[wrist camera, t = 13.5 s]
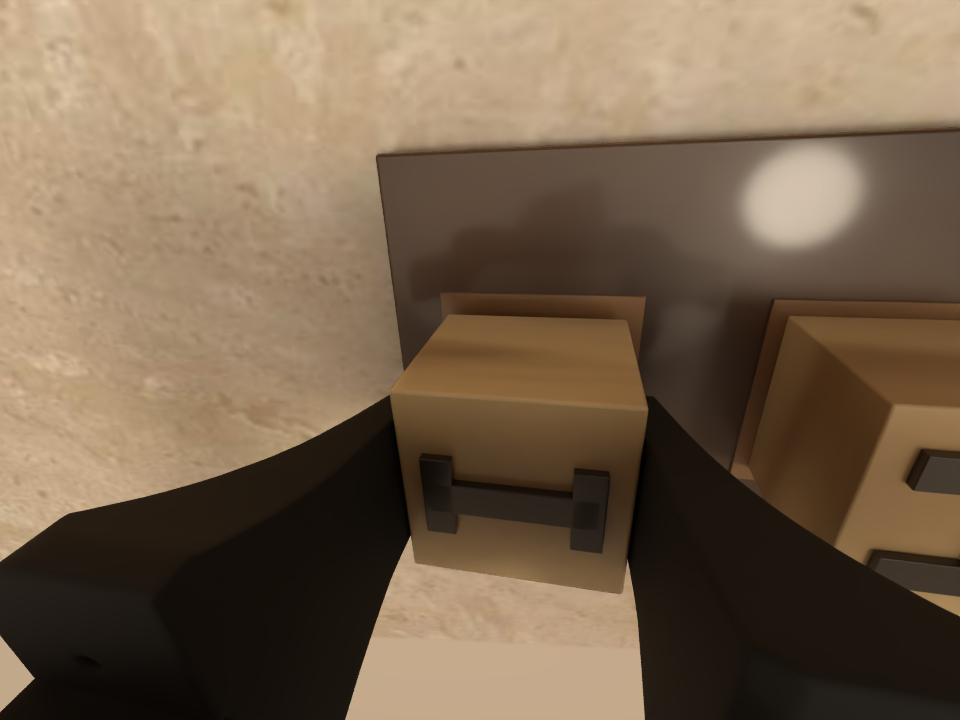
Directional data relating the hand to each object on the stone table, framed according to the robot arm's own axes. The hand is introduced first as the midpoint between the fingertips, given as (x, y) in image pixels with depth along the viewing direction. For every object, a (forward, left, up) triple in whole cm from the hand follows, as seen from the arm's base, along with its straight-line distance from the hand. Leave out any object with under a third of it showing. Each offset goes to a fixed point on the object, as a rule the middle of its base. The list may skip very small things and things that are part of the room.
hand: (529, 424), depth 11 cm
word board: (0, -4, -3) cm, 5 cm away
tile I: (0, 0, -1) cm, 1 cm away
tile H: (0, -8, -2) cm, 8 cm away
